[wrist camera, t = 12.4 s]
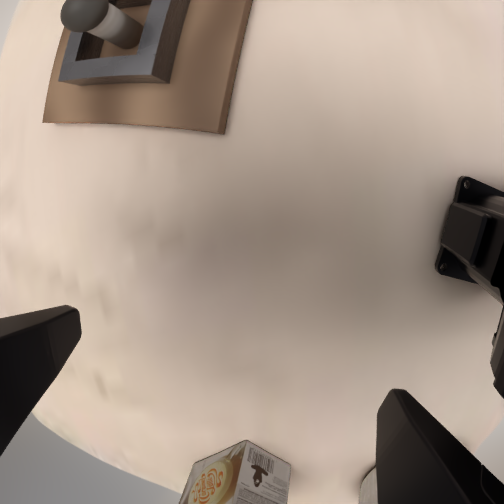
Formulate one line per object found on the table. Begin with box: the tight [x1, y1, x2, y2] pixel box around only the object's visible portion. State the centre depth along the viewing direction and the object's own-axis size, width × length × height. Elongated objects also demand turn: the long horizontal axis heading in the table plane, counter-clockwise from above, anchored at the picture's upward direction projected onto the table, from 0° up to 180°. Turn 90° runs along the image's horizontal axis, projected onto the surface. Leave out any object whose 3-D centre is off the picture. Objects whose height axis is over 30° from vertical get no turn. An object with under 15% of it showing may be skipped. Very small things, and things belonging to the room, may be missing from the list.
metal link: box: [58, 0, 191, 86], centre depth 13 cm, size 7×7×2 cm
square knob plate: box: [42, 0, 253, 134], centre depth 12 cm, size 14×12×8 cm
